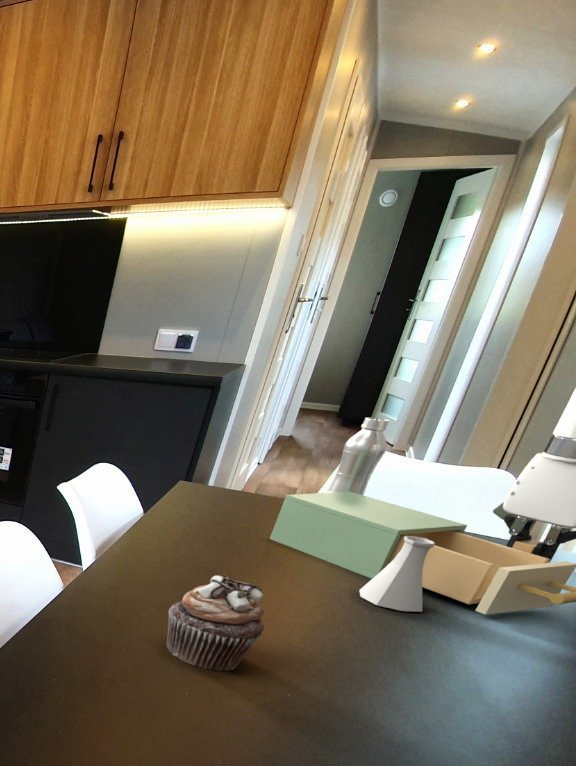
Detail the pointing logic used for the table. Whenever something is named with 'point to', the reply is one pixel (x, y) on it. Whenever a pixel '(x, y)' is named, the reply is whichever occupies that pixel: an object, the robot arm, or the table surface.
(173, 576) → the table surface
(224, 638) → the cupcake
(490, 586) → the drawer
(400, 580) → the flask
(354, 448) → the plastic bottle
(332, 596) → the table surface
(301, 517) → the cabinet
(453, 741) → the table surface
